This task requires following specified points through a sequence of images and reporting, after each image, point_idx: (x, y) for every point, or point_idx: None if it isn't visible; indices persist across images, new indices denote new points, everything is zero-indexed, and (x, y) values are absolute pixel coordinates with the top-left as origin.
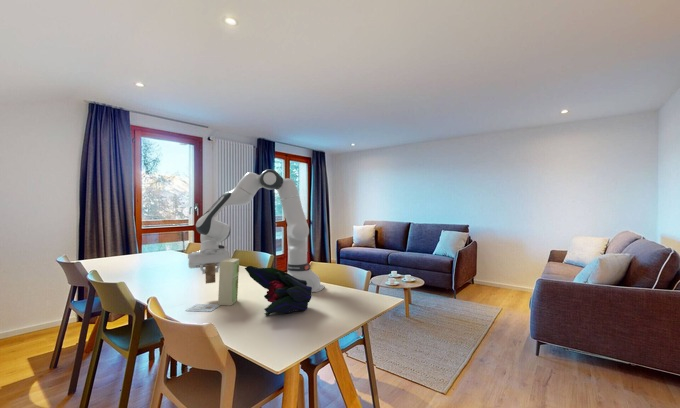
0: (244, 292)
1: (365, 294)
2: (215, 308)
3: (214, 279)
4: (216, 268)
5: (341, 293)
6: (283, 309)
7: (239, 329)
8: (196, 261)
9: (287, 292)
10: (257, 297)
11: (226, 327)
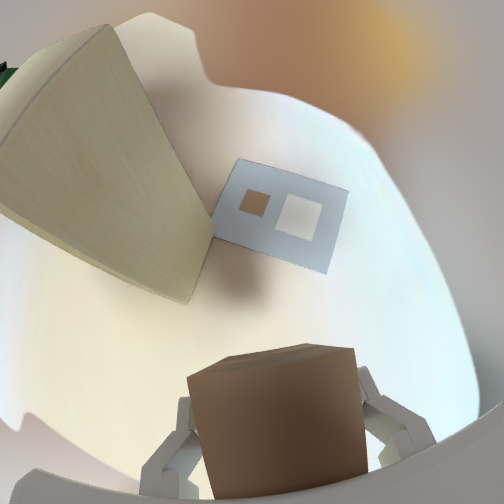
0: (104, 408)
1: None
2: (224, 188)
3: (232, 357)
4: (195, 424)
5: None
6: None
7: (164, 61)
8: (501, 450)
9: None
10: (59, 301)
11: (190, 67)
